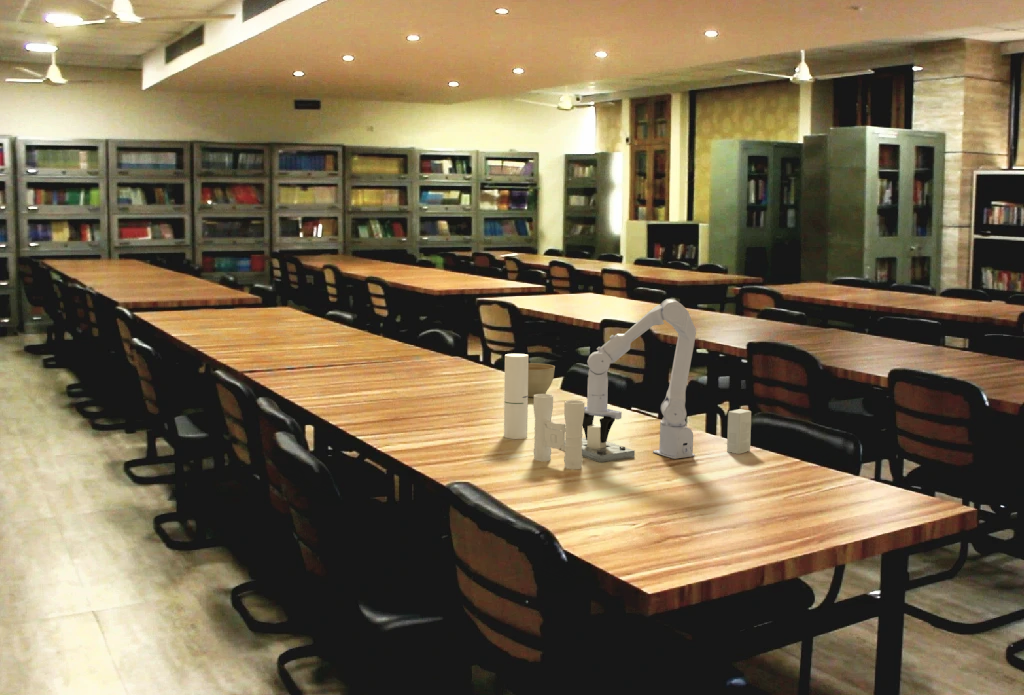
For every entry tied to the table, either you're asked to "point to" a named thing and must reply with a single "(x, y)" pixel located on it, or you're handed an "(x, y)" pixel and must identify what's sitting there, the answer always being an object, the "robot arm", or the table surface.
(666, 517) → the table surface
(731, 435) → the skincare box
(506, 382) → the cylindrical container
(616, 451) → the strike plate
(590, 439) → the cream rectangular block
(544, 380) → the planter bowl
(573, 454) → the binoculars
